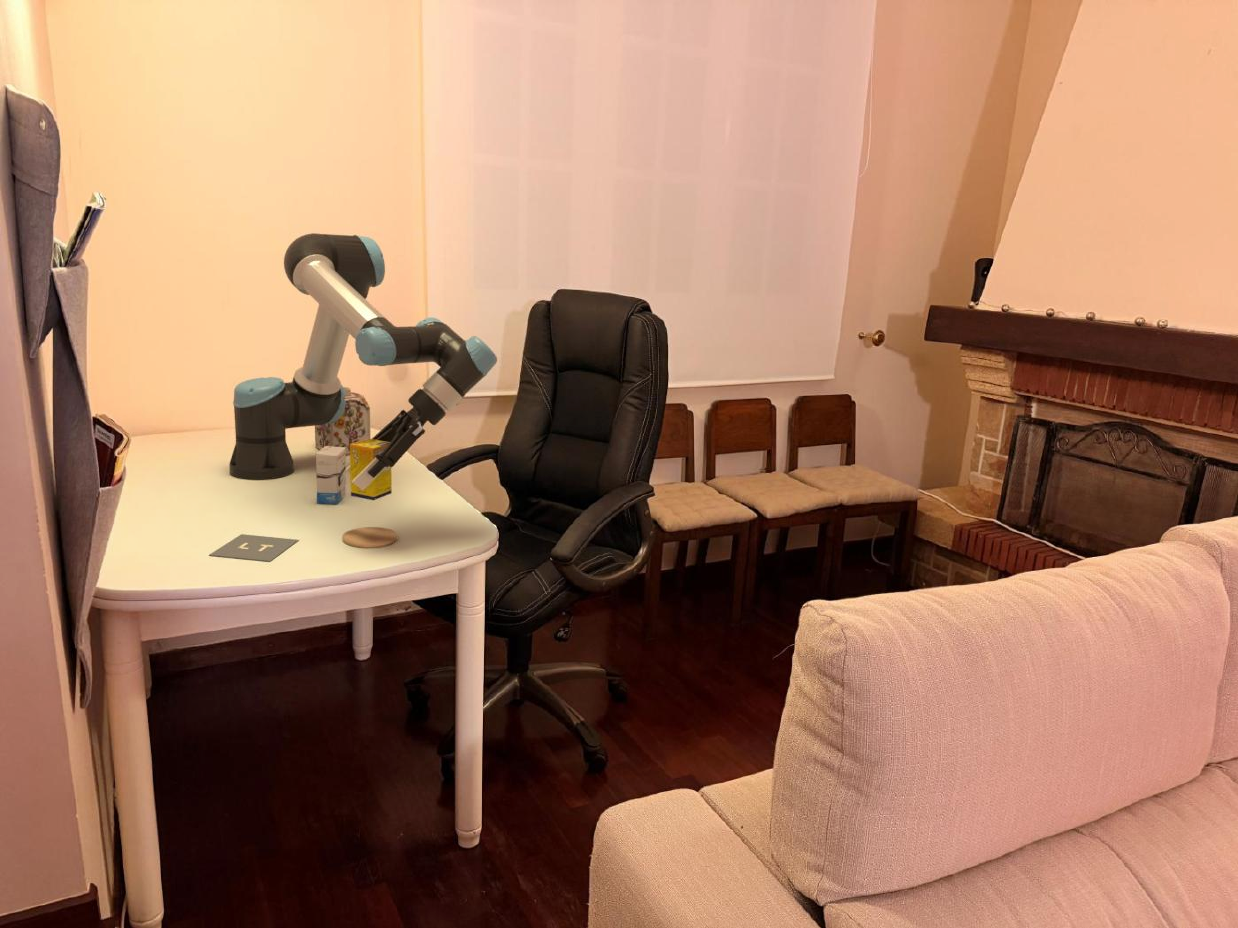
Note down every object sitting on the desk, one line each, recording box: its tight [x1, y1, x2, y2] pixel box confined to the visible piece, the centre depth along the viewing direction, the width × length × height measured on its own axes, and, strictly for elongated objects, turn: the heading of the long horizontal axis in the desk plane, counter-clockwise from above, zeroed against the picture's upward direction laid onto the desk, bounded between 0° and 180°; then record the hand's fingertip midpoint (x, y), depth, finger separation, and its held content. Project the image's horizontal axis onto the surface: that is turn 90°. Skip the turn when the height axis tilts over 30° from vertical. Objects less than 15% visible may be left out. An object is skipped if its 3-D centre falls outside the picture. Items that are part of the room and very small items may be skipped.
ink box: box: [315, 446, 347, 505], centre depth 201 cm, size 8×5×12 cm, turn 4°
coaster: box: [341, 526, 399, 549], centre depth 179 cm, size 11×11×1 cm
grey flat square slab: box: [208, 533, 299, 563], centre depth 169 cm, size 12×12×1 cm
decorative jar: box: [314, 386, 371, 456], centre depth 242 cm, size 12×12×18 cm
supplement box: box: [349, 438, 392, 501], centre depth 175 cm, size 6×6×11 cm
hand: (353, 479), depth 174 cm, fingers closed on supplement box, 8 cm apart
